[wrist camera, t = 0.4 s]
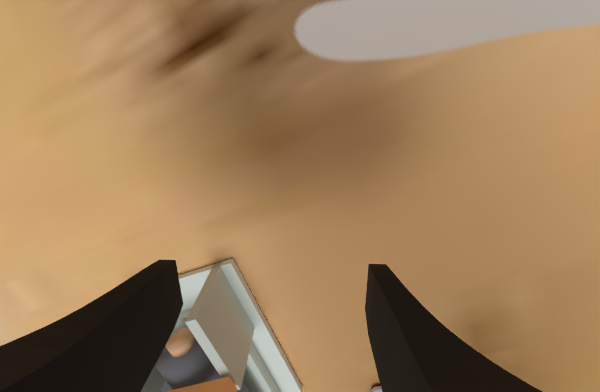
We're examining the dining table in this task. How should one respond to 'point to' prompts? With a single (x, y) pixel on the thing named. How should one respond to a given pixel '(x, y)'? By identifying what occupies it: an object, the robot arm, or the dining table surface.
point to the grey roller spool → (186, 362)
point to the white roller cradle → (230, 331)
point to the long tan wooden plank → (210, 386)
